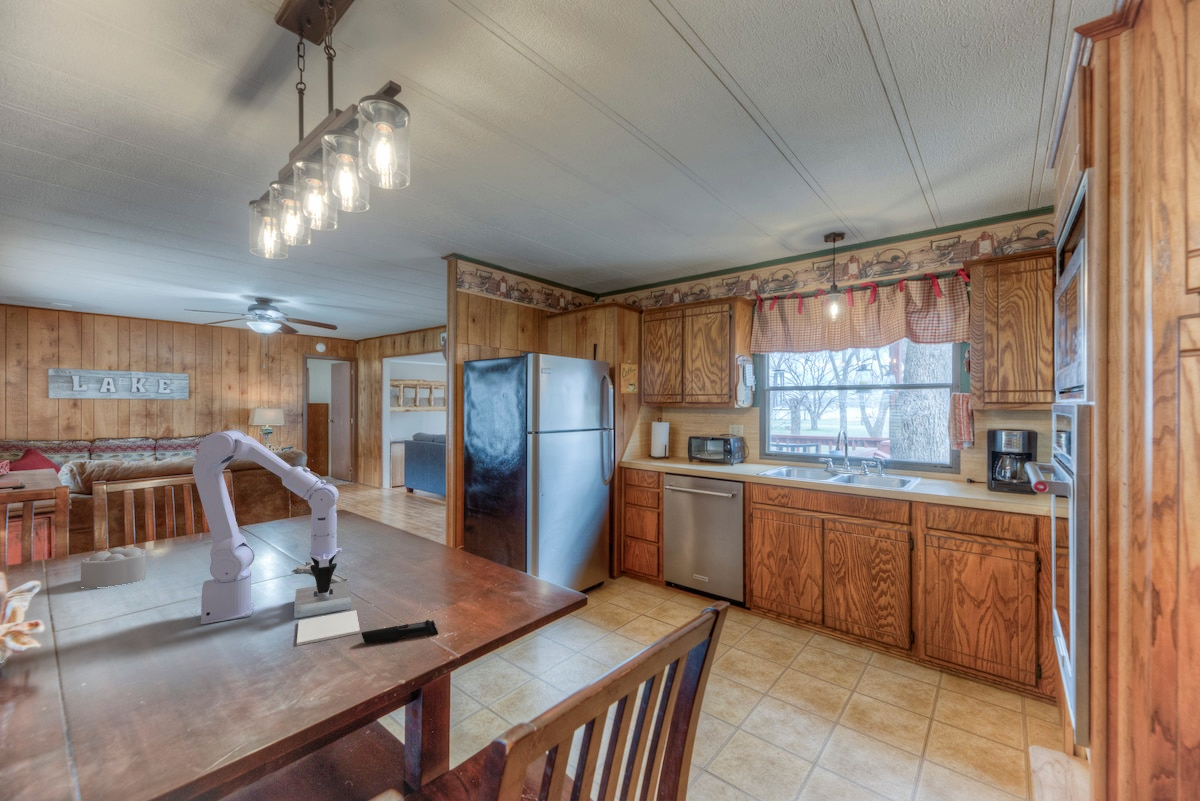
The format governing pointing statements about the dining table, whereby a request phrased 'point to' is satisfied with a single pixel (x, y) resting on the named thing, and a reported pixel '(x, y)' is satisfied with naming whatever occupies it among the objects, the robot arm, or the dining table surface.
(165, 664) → the dining table surface
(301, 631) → the mat
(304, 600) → the socket block
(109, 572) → the egg container
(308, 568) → the adjustable wrench
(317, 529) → the robot arm
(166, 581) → the dining table surface
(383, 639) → the electric trimmer
